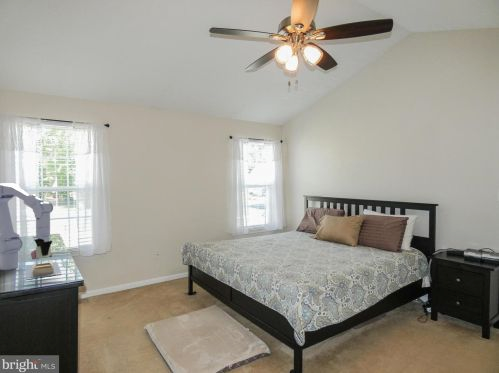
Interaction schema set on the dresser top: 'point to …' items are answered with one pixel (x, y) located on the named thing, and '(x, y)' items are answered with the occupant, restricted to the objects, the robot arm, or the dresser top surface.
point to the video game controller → (33, 255)
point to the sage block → (39, 254)
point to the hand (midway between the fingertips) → (43, 254)
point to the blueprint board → (30, 274)
